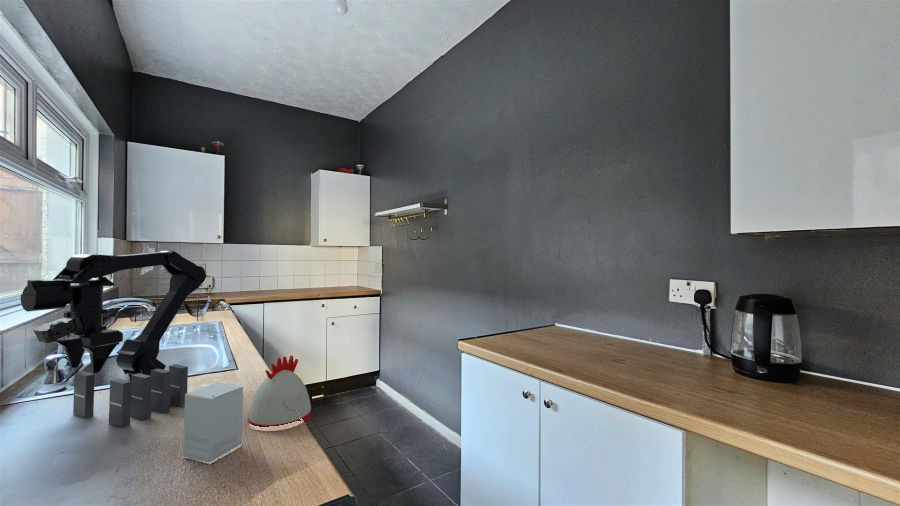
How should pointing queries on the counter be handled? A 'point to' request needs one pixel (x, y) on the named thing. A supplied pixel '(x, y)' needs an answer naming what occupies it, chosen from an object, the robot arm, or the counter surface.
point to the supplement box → (212, 421)
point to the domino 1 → (83, 394)
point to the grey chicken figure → (280, 397)
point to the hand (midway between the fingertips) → (85, 370)
